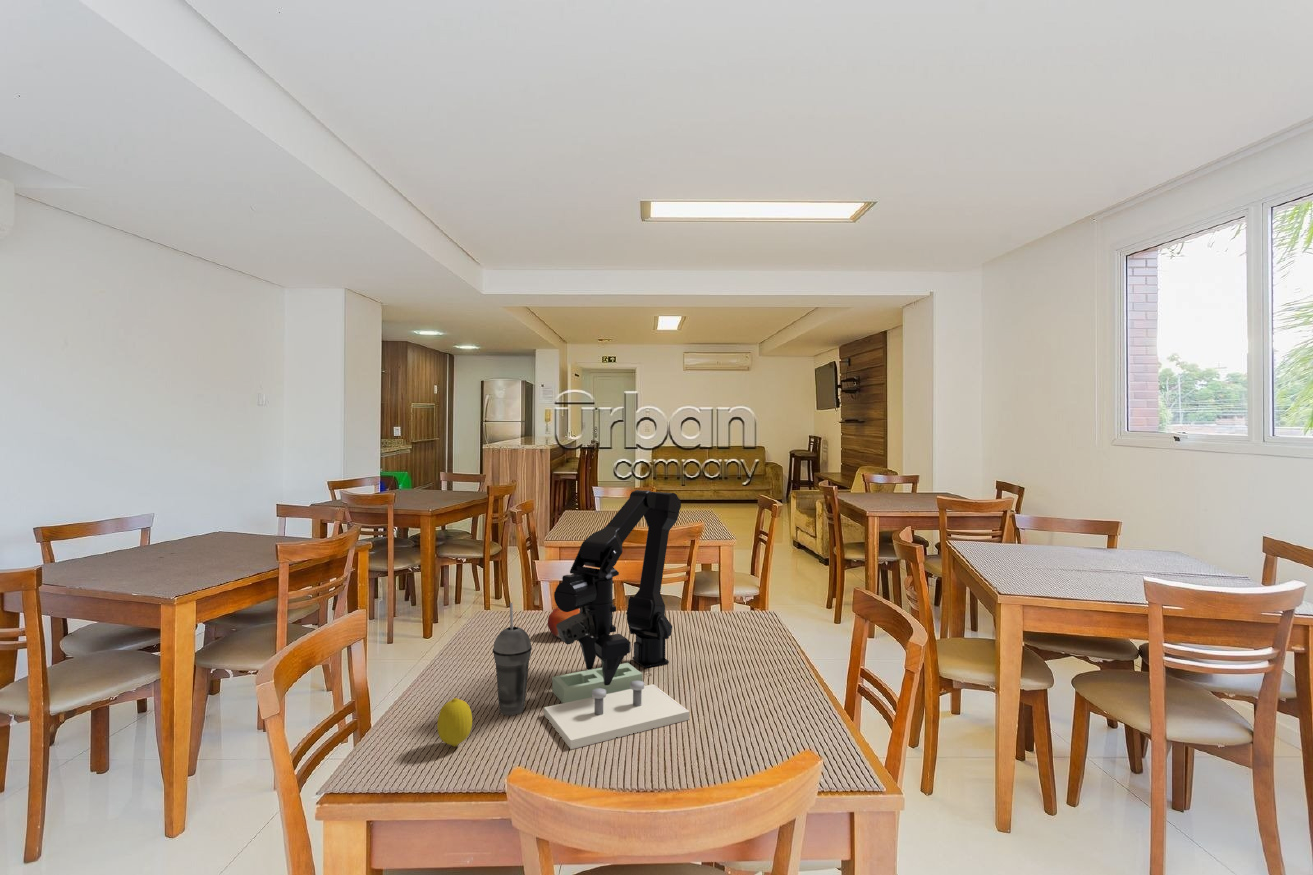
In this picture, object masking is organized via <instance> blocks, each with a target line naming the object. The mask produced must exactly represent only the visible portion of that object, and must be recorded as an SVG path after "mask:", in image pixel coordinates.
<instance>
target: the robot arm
mask: <svg viewBox="0 0 1313 875" xmlns="http://www.w3.org/2000/svg"><path fill="white" fill-rule="evenodd" d="M681 507H682V501H681V499H680V498H679V496H678V495H677V494H676V493H675V492H664V491H662V492H661V491H652V490H643V489H642V490H641V489H635V490H633V491H631V492H630V495H629V497H628V499H627V500H626V502H625V503H624V504H623V505H622V507H621V508H619V510H618V511H617V513H616V514H615V515H614V516H613V517H612V518H611V520H610V521H609V522H608V523H607V525H606V526H604V527H603V528H602V529H600V530H597V531H595V532H593V533H592V534H590V535H589V536H588V537H586V538H585V540H583V542H582V543H581V545H580V546H579V550H578V552H577V554H576V557H575V558H574V561H573V563H572V566H571V568H570V570H569V573H570V574H565V575H562V578H561V579H562V582H560V583H559V584H557V586H556V588H555V591H554V592H553V593H554V594H553V595H554V596H553V597H554V598H553V599H554V603H555V605H556V606H557V608H559V609H560V610H562V611H564V612H570V611H573V610H576V609H579V610H580V613H578V614H576V615H573V616H571V617H569V618H567V619H565V620H563V621H562V622H560V623H558V624H557V625H556V627H557V630H558V632H559V635H560V638H559V639H560V640H561V641H562V642H564V643H565V645H571V644H574V643H575V641H577V642H578V643H579V645H580V650H581V652H582V655H583V659H584V662H585V667H586V670H592V669H594V664H595V661H596V657H597V658H598V659H599V660H600V662H601V668H602V672H603V679H604V685H610V683H611V681H612V679H613V677H614V675H615V673H616V671H617V669H618V667H619V665H620V664H622V661H623V659H624V658H625V656H627V655H628V654H630V653H631V649H632V646H631V645H632V644H631V643H632V642H631V641H630V640H629V639H628V638H627V637H625V636H623V635H622V634H620V633H616V632H617V627H616V625H614V624H613V613H616V612H617V606H615V605H614V604H613V592H614V590H613V587H614V586H613V584H614V583H613V581H614V580H613V579H614V578H613V577H617V576H619V574H620V572H619V571H618V570H617V569H616V568H615V566H616V564H617V562H618V561H619V559H620V557H621V556H622V554H623V544H624V542H625V540H626V539H627V537H629V535H630V534H631V533H632V531H633V530H634V529H635V527H636V526H637V525H638V523H640V521H641V520H642V518H644V520H645V523H646V526H647V534H646V541H645V550H644V554H643V562H642V569H641V574H640V575H641V576H640V582H639V589H638V591H636V594H634V595H633V596H631V595H630V597H629V598H628V603H627V604H628V605H627V610H626V613H625V615H626V622H627V624H628V625H627V626H628V630H629V634H630V635H635V641H634V642H633V656H632V658H631V659H632V660H633V661H634V662H636V663H637V664H638V665H640V666H641V667H642V668H645V669H646V668H651V667H655V666H660V665H661V666H662V665H665V664H667V665H668V664H669V663H670V661H669V659H667V658H666V640H668V639H670V636H672V631H673V625H672V623H671V622H670V621H669V620H668V618H667V617H666V604H665V601H664V600H663V597H662V594H661V592H662V591H661V590H662V583H663V582H662V581H663V576H664V569H665V562H666V555H667V547H668V540H669V536H670V531H671V529H672V528H673V527H674V526H675V524H676V523H677V521H678V519H679V514H680V511H681ZM611 633H613V634H611ZM615 633H616V634H615Z"/></svg>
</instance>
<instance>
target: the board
mask: <svg viewBox="0 0 1313 875" xmlns="http://www.w3.org/2000/svg"><path fill="white" fill-rule="evenodd" d="M630 688H631V689H628V690H624V691H619V692H614V693H609V694H606V690H605V689H602V688H597V689H594V690H592V697H591V698H586V699H581V700H577V701H572V702H567V703H562V702H561V703H559V704H553V705H550V706H545V707H544V708H543V710H544V711H543V716H544V717H545V718H546V720H547V719H548V720H549V721H548V720H547V721H548V722H549V724H550V723H551V724H552V725H551V724H550V725H551V726H552V727H553V729H554V728H555V729H554V730H555V731H556V732H558V733H559V734H558V733H557V734H558V735H559V736H560V738H561V737H562V738H561V739H562V740H563V742H564V743H565V744H566V746H568V748H569V749H570V750H574V749H578V748H583V747H585V746H590V745H591V746H592V745H593V744H594V745H595V744H598V743H601V742H607V741H610V740H614V739H617V738H616V737H618V738H621V737H626V736H629V734H630V735H633V733H634V734H638V733H641V732H645V731H649V730H650V731H651V730H653V728H654V729H658V728H661V727H666V726H669V725H673V724H677V723H680V722H686V721H689V720H690V710H688V709H687V708H685V707H684V705H682V704H680V703H679V702H677V701H676V700H675V699H673V698H672V697H671V696H670V695H668V694H667V693H665V692H664V691H663V690H661V689H660V688H659V687H658V686H657V685H655V684H653V683H652V684H648V685H645V682H644V680H643V681H632V682H631V683H630ZM637 732H638V733H637Z"/></svg>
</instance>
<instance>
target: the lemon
mask: <svg viewBox="0 0 1313 875" xmlns="http://www.w3.org/2000/svg"><path fill="white" fill-rule="evenodd" d="M472 714H473V713H472V710H471V707H470V705H469V704H468V702H466V701H464V699H463V700H462V699H459V698H457V697H454V698H452V699H451V700H449V701H447V702H446V703H445V704H444V705H443V706H442V707H441V709H440V711H439V713H438V716H437V717H438V718H437V726H436V728H437V734H438V737H439V738H440V740H441V741H442V742H444V743H445V744H447V745H450V746H452V747H453V748H456V747H458V745H459V744H460V743H462V742H464V741H466V739H467V738H468V737H469V735H470V733H471V732H472V731H471V730H472V726H473V715H472Z"/></svg>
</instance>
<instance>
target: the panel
mask: <svg viewBox="0 0 1313 875" xmlns="http://www.w3.org/2000/svg"><path fill="white" fill-rule="evenodd" d="M643 674H644V673H642V672H641V671H640V670H638V669H637V668H636V667H634V666H633V665H632V664H630V663H629V662H624V663H620V665H619V667H618V669H617V671H616V673H615V675H614V677H613V679H612V681H611V683H610V685H604V679H603V672H602V667H598V668H597V667H596V668H592V669H590V670H588V669H586V670H581V671H576V672H572V673H571V672H570V673H567V674H560V675H555V676H552V677H551V678H552V686H551V691H552V693H553V694H554V695H555V696H556V698H557V699H558V700H559V701H560V702H561V704H562V703H567V702H572V701H577V700H581V699H586V698H591V697H592V690H594V689H597V688H602V689H605V690H606V694H609V693H614V692H619V691H624V690H628V689H631V688H630V683H631V682H632V681H643V682H644V680H643V676H644V675H643Z"/></svg>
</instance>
